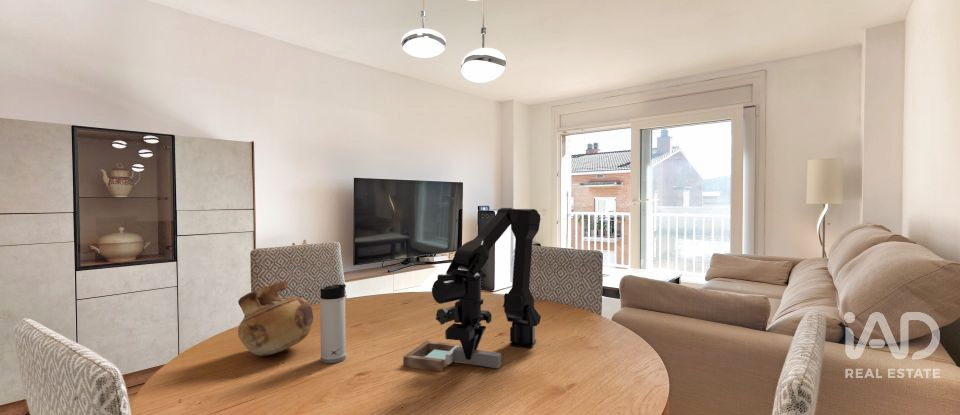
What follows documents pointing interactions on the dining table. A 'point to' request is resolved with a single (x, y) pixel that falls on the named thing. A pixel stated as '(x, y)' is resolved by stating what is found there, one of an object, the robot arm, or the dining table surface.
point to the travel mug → (332, 323)
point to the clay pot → (273, 320)
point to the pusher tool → (474, 357)
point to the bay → (418, 361)
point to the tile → (438, 355)
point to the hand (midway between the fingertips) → (470, 357)
